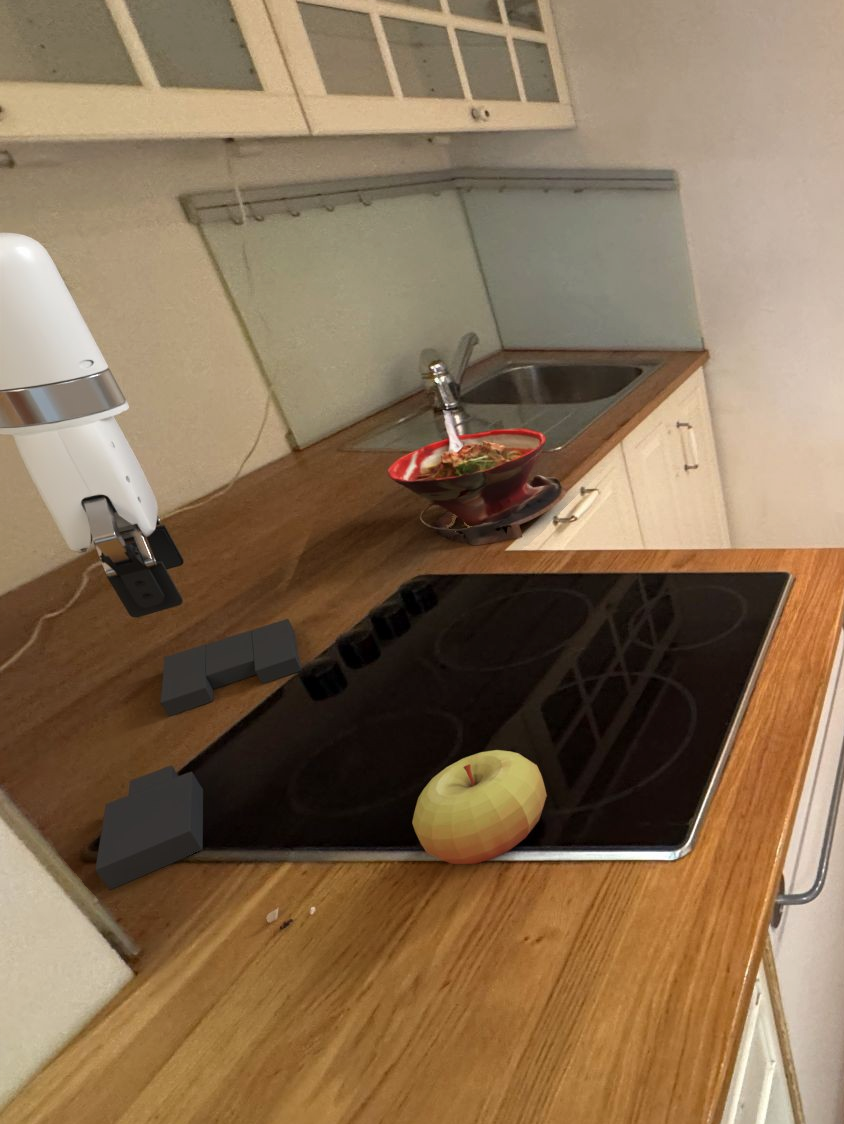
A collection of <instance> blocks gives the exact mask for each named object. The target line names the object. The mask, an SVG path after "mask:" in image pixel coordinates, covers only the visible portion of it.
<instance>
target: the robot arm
mask: <svg viewBox="0 0 844 1124" xmlns="http://www.w3.org/2000/svg"><path fill="white" fill-rule="evenodd" d="M129 409H130V405H129V403H128V401H127V399H126V397H125V395H124V394H123V391H122V390H121V387H120V386H119V384H118V383H117V381H116V379H115V376H114V375H113V373H112V371H111V369H110V368H109V365H108V363H107V361H106V359H105V357H104V355H103V353H102V352H101V350H100V347H99V346H98V344H97V343H96V340H95V338H94V336H93V335H92V332H91V330H90V329H89V327H88V324H87V323H86V321H85V319H84V317H83V316H82V314H81V312H80V310H79V308H78V306H77V304H76V302H75V300H74V298H73V296H72V295H71V292H70V291H69V289H68V287H67V285H66V283H65V281H64V279H63V278H62V275H61V273H60V271H59V270H58V268H57V266H56V264H55V262H54V261H53V259H52V257H51V254H49V252H48V251H47V249H46V248H45V247H44V246H43V244H42V243H40V241H38V240H36V239H34V238H33V237H30V236H28V235H26V234H21V233H16V232H15V233H14V232H0V436H3V435H4V436H10V435H11V436H12V438H13V439H14V442H15V445H16V447H17V450H18V452H19V455H20V456H21V459H22V462H23V465H24V466H25V468H26V470H27V472H28V474H29V476H30V478H31V481H32V482H33V484H34V486H35V487H36V489H37V491H38V493H39V495H40V497H41V498H42V500H43V502H44V504H45V506H46V508H47V509H48V511H49V513H50V515H51V517H52V519H53V521H54V523H55V525H56V527H57V528H58V531H59V533H60V534H61V536H62V538H63V539H64V541H65V543H66V546H67V547H68V549H69V550H71V551H72V552H74V553H79V554H82V553H86V552H87V550H88V548H91V547H92V542H93V545H94V547H95V549H96V552H97V554H98V557H99V560H100V562H101V565H102V567H103V570H104V572H105V574H106V579H107V580H108V581H109V584H110V585H111V587H112V588H113V590H114V592H115V593H116V596H117V597H118V598H119V600H120V601H121V603H122V605H123V606H124V608H125V610H126V612H127V614H129V616H130V617H131V618H135V619H136V618H137V619H138V618H141V617H145V616H147V615H151V614H155V613H158V612H162V611H165V610H169V609H172V608H175V607H178V606H181V605H182V604H183V597H182V595H181V593H180V591H179V590H178V587H177V586H176V584H175V582H174V580H173V578H172V577H171V575H170V573H169V572H168V570H170V569H174V568H178V567H181V566H183V564H184V563H185V562H184V560H185V559H184V557H183V556H182V554H181V552H180V550H179V549H178V546H177V544H176V543H175V541H174V539H173V537H172V535H171V534H170V531H169V530H168V528H167V527H166V524H162V522H161V519H160V517H159V515H158V509H159V507H158V502H157V498H156V496H155V494H154V491H153V489H152V487H151V485H150V483H149V481H148V478H147V476H146V474H145V471H144V470H143V468H142V466H141V464H140V462H139V460H138V459H137V457H136V454H135V453H134V450H133V448H132V447H131V445H130V442H129V441H128V440H127V438H126V436H125V434H124V432H123V431H122V429H121V427H120V425H119V424H118V422H117V420H116V418H115V416H117V415H121V414H122V413H123V412H127V411H128V410H129Z"/></svg>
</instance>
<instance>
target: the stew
mask: <svg viewBox="0 0 844 1124" xmlns="http://www.w3.org/2000/svg"><path fill="white" fill-rule="evenodd" d="M442 412H443V418H444V421H443V424H444V428H445V429H446V434H447V436H446V437H445V438H443V439H442V440H438V441H436V442H433V443H430V444H426V445H424V446H422V447H420V448H418V449H416V450H414V451H411V452H409V453H406V454H404V455H403V456H401V457H399V458H397V460H395V461H394V462H393V463H391V465H390V466H389V467H388V469H387V476H388V477H389V478H390V479H391V480H392V481H394V482H395V483H397V484H399V485H401V486H403V487H405V488H407V489H408V490H410V491H411V492H413V493H414V494H416V495H418V496H420V497H422V498H424V499H426V500H428V502H429V504H428V505H427V506H426V507H425V508H424V509H423V510H422V511H421V513H420V515H419V521H420V523H421V524H422V525H423V526H424V527H426V528H429V529H431V530H434V531H437V532H438V533H437V534H439V533H440V534H439V535H441V534H442V535H441V536H442V537H443V536H444V538H446V539H451V538H452V539H454V540H453V541H456V540H459V541H460V542H459V541H458V542H459V543H469V545H470V546H481V545H486V544H492V543H496V542H501V541H506V540H509V539H510V540H511V539H519V538H523V533H522V530H521V527H520V525H522V524H524V523H527V522H530V521H531V520H533V519H535V518H537V517H539V516H542V515H543V514H545V513H546V512H548V511H550V510H551V509H553V508H554V507H555V506H557V505H558V504H559V503H560V502H561V501H562V500H563V499H564V498H565V496H566V494H567V493H568V492H567V490H566V489H564V488H563V487H562V485H561V483H560V481H559V480H558V479H557V478H556V476H544V475H539V474H537V475H535V476H534V477H533V478H532V479H529V478H530V475H531V472H532V470H533V468H534V467H535V465H536V463H537V462H538V459H539V458H540V457H541V455H542V451H543V449H544V446H545V444H546V442H547V437H546V435H545V434H544V432H543V433H542V432H541V431H537V430H535V429H530V428H527V427H526V428H522V427H521V428H520V427H513V428H512V427H511V428H501V429H500V428H499V429H498V428H495V429H490V430H485V431H482V432H481V431H480V432H476V433H470V434H463V435H459V434H458V431H457V430H456V428H455V427H456V426H455V422H454V419H453V415H452V410H445V409H442ZM432 506H436V507H437V506H439V507H440V508H442V509H444V510H446V511H445V512H444V514H442V515H441V516H440V517H439V518H438V520H433V521H432V523H433V526H432V525H431V524H429V523H427V522H426V521H425V519H424V517H423V514H424V512H426V511H427V510H428V509H430V507H432ZM453 514H455V515H456V516H458V518H460V519H461V520H462V522H463V521H464V522H465V523H466V524H467V525H469V526H472V527H470V528H465V527H464V528H463V527H462V528H458V529H455V528H453V529H449V528H447V526H446V525H449V524H450V523H451V522H452V518H453V517H452V516H454V515H453ZM464 522H463V523H464ZM452 523H453V522H452ZM503 527H507V529H506V530H505V529H504V528H503ZM498 529H499V530H498ZM455 531H456V532H455ZM447 537H448V538H447ZM449 537H450V538H449ZM452 539H451V540H452Z"/></svg>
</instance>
